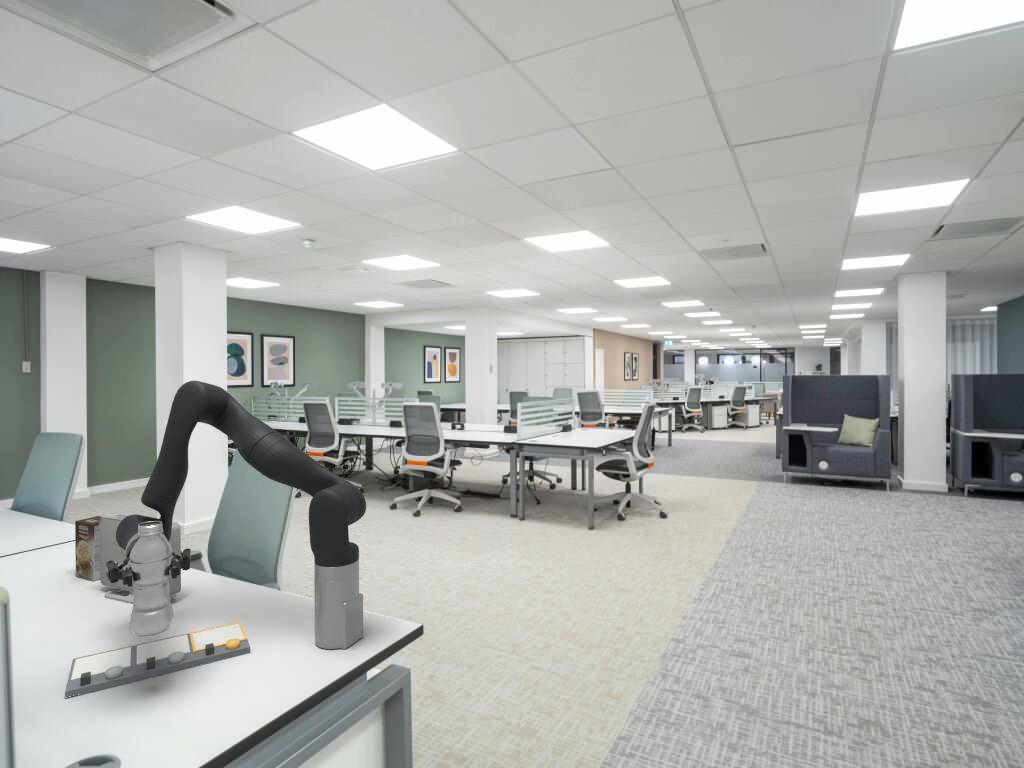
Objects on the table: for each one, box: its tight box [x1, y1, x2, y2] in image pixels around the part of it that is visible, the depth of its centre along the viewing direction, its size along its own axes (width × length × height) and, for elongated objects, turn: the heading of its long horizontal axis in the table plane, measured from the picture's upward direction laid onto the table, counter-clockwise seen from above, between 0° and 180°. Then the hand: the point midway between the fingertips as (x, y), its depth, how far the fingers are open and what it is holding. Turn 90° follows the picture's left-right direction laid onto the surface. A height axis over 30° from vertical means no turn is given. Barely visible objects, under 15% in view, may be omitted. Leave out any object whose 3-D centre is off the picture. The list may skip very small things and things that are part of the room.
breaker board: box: [64, 621, 251, 698], centre depth 113 cm, size 30×14×3 cm, turn 123°
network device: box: [99, 513, 182, 605], centre depth 146 cm, size 26×9×20 cm, turn 68°
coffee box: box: [74, 515, 103, 582], centre depth 161 cm, size 9×6×16 cm
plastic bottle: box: [129, 521, 174, 637], centre depth 102 cm, size 6×7×20 cm
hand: (152, 576), depth 100 cm, fingers closed on plastic bottle, 6 cm apart
